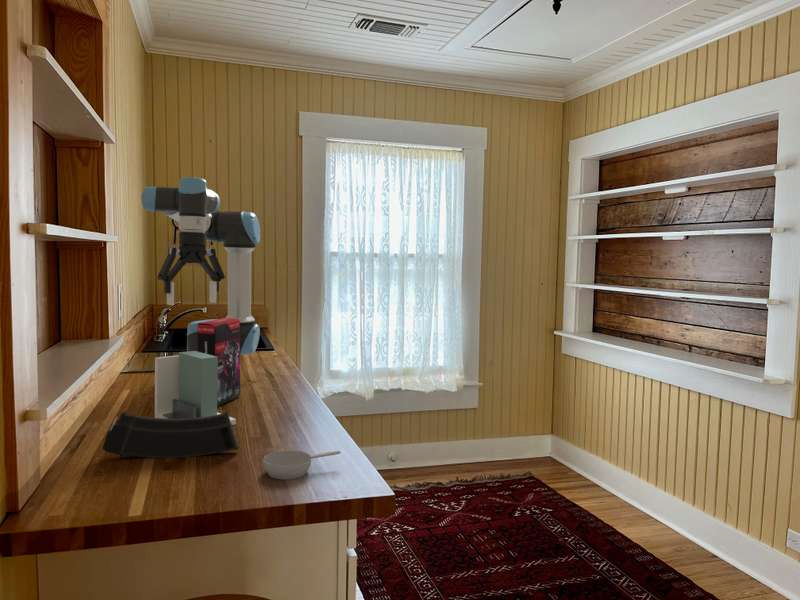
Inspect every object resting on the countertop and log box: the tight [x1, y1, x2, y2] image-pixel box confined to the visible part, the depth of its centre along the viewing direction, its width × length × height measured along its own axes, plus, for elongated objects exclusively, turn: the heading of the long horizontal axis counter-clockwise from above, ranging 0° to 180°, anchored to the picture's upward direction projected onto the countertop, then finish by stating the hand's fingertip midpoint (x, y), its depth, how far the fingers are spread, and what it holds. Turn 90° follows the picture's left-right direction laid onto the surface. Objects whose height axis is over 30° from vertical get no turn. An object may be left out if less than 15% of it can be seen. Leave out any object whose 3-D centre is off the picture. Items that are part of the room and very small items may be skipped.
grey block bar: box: [163, 399, 196, 419], centre depth 168 cm, size 4×12×4 cm, turn 48°
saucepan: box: [263, 449, 341, 481], centre depth 136 cm, size 11×18×4 cm, turn 113°
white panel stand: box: [154, 354, 237, 426], centre depth 171 cm, size 14×21×18 cm, turn 48°
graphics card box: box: [198, 317, 241, 408], centre depth 193 cm, size 17×7×27 cm, turn 168°
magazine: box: [102, 411, 239, 459], centre depth 142 cm, size 17×3×30 cm
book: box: [178, 351, 218, 418], centre depth 172 cm, size 5×13×18 cm, turn 48°
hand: (192, 303), depth 173 cm, fingers open, 13 cm apart
